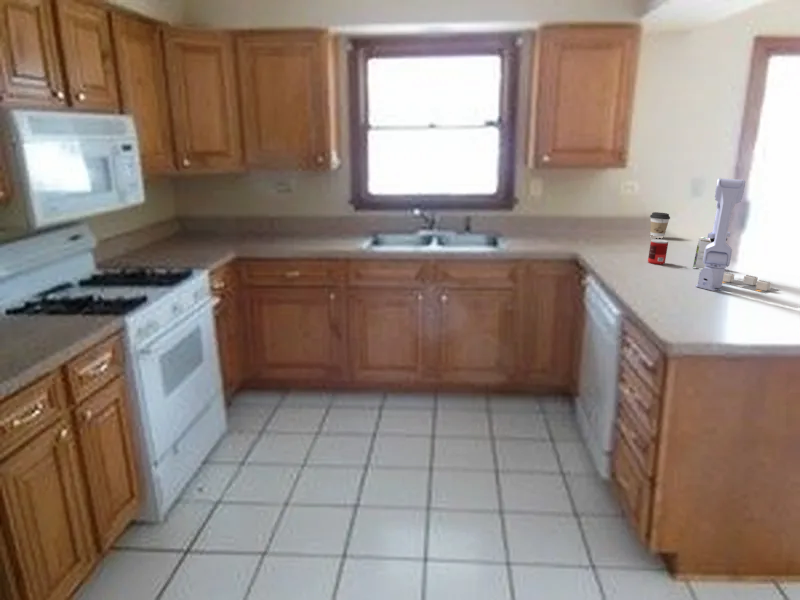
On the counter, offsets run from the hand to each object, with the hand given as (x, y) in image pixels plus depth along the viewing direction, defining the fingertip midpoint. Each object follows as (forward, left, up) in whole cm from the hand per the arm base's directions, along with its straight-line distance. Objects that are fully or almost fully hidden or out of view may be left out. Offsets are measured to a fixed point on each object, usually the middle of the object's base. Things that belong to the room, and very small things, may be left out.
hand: (715, 253), depth 269 cm
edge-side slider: (-7, -26, -9) cm, 28 cm away
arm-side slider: (-7, -11, -9) cm, 16 cm away
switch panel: (-6, -18, -10) cm, 22 cm away
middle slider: (-3, -18, -9) cm, 21 cm away
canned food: (+2, +29, -11) cm, 31 cm away
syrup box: (+12, +12, -11) cm, 20 cm away
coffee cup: (+69, +75, -11) cm, 103 cm away
